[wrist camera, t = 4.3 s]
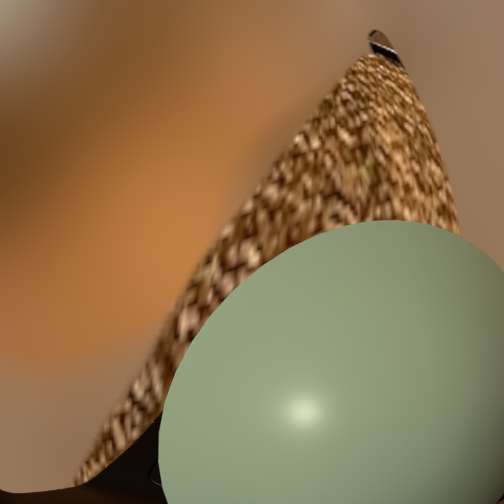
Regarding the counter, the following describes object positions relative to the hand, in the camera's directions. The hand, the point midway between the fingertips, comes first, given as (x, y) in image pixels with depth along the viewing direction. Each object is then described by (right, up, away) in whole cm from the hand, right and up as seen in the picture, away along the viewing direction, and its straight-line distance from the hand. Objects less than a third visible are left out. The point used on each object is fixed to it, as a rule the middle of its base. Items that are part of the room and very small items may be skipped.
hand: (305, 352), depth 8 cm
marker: (0, -4, +5) cm, 7 cm away
